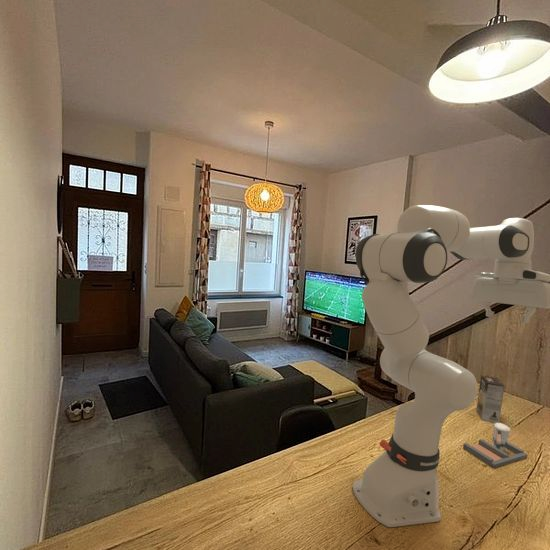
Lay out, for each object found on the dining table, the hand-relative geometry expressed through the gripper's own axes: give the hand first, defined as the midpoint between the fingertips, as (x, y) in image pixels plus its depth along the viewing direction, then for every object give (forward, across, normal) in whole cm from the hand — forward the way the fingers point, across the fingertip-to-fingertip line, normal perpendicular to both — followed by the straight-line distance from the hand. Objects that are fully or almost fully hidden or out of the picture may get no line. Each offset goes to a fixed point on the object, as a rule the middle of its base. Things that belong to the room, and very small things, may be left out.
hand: (506, 319), depth 94 cm
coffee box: (+44, -22, +41) cm, 64 cm away
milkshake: (+46, -7, +20) cm, 50 cm away
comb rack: (+46, -7, +16) cm, 49 cm away
